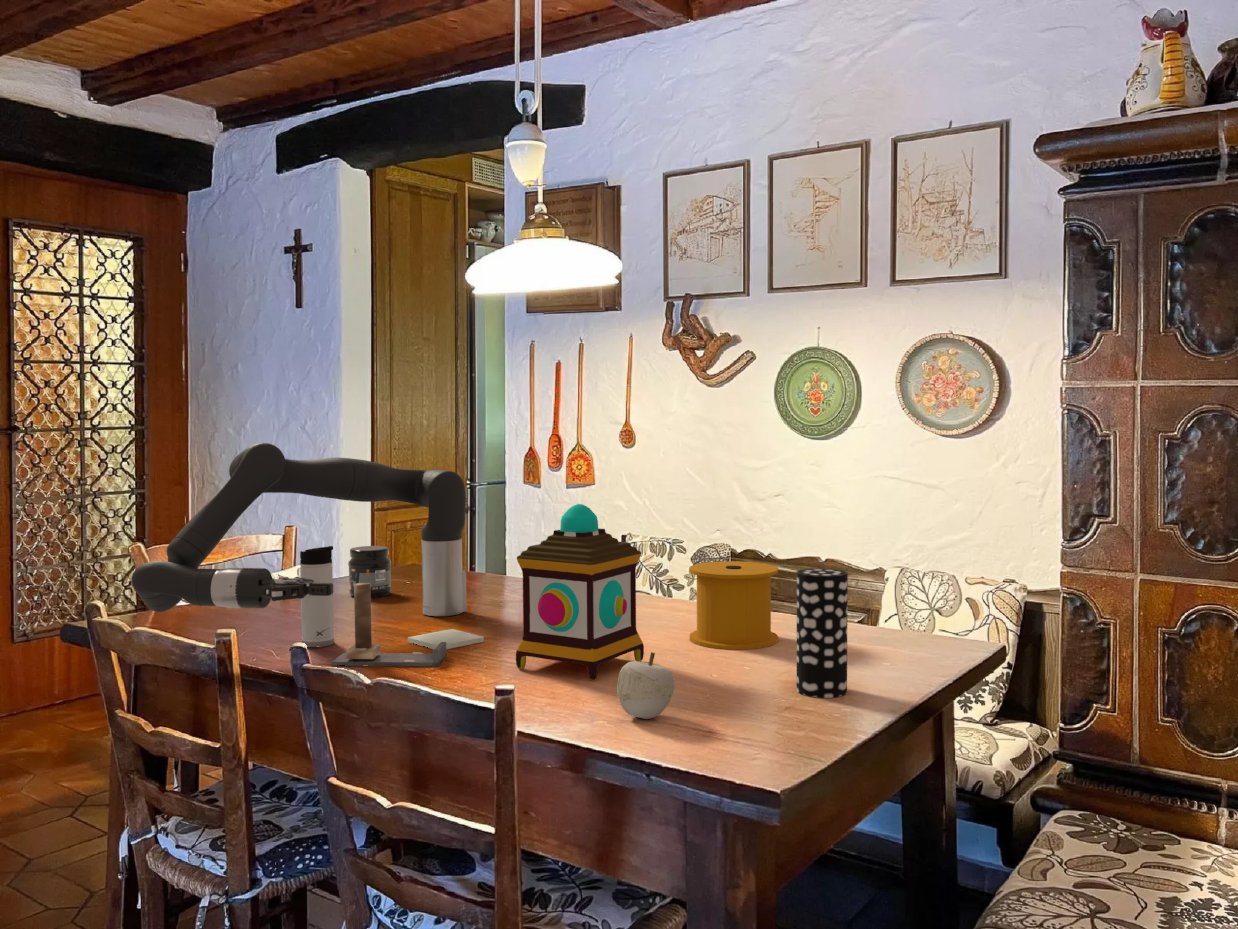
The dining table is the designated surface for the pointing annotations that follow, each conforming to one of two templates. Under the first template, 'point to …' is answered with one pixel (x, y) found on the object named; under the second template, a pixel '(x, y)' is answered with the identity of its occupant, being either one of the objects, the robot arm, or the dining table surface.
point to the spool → (733, 605)
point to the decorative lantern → (579, 595)
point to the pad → (446, 639)
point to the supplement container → (370, 569)
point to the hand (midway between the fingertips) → (331, 589)
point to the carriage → (363, 625)
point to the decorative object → (644, 688)
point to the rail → (399, 659)
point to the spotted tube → (822, 632)
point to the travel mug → (317, 598)
